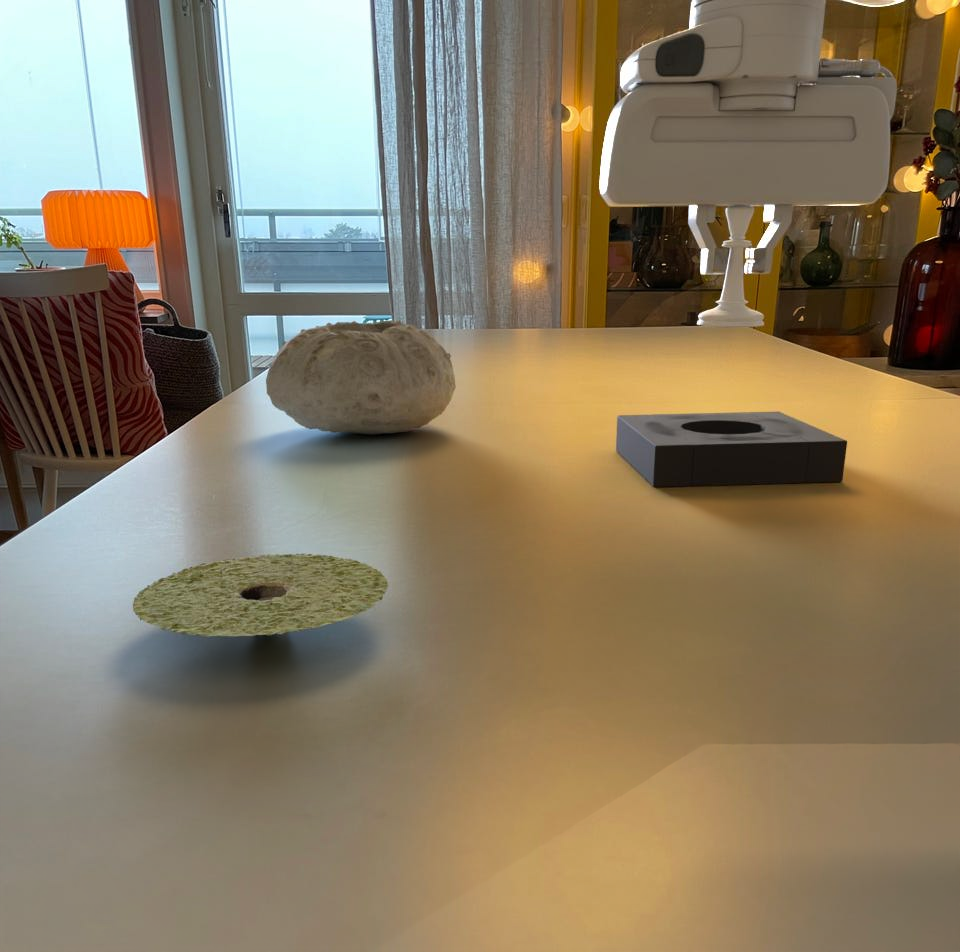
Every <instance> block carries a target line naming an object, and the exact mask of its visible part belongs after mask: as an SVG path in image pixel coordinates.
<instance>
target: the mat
mask: <svg viewBox="0 0 960 952" xmlns="http://www.w3.org/2000/svg"><path fill="white" fill-rule="evenodd" d="M388 583H389V582H388V579H387V578H386V576H384V575H383V573H382V572H381V571H379V570H378V569H377V568H374V567H372V566H371V565H369V564H366V563H363V562H360V561H358V560H354V559H352V558H343V557H338V556H333V555H327V554H326V555H325V554H319V553H318V554H312V553H309V554H307V553H296V554H295V553H284V554H279V553H278V554H263V555H257V556H256V555H254V556H246V557H237V558H232V559H231V558H230V559H223V560H215V561H212V562H209V563H205V562H204V563H200V564H197V565H194V566H190V567H189V568H187V567H186V568H183V569H182V570H181V571H178V572H173V573H172V574H170V575H168V576H166V577H161V578H159V579H158V580H155V581H153V583H152V584H150V585H149V584H148V585H147V586H146V587H144V588H143V589H142V590H139V592H138V593H137V594H136V596H134V597H133V603H132V610H133V612H134V613H135V615H136V616H137V618H139V620H140V621H141V620H142V621H144V622H145V623H146V624H149V625H150V626H156V627H158V628H159V629H161V630H163V631H165V630H167V631H172V632H173V633H180V634H182V635H183V636H186V635H191V636H202V637H206V638H208V637H216V636H220V637H255V636H257V635H259V636H263V635H266V636H272V635H275V634H277V635H283V634H285V633H290V632H296V631H297V632H302V631H305V630H310V629H311V630H312V629H318V628H320V627H323V626H327V625H332V624H334V623H337V622H342V621H345V620H347V619H349V618H352V617H356V616H358V615H360V614H362V613H364V612H367V611H368V610H369V609H371V608H373V607H374V606H375V605H377V603H379V602H380V601H382V600H383V597H384V595H385V594H386V592H387V591H386V590H388V587H389V584H388Z"/></svg>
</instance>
